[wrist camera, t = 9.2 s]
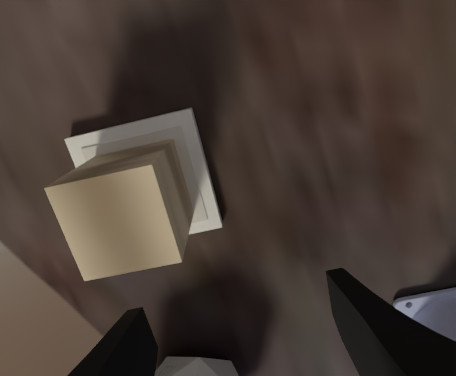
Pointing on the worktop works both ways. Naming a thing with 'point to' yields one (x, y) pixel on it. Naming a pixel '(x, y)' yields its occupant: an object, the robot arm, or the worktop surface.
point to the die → (195, 367)
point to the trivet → (155, 132)
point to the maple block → (124, 210)
